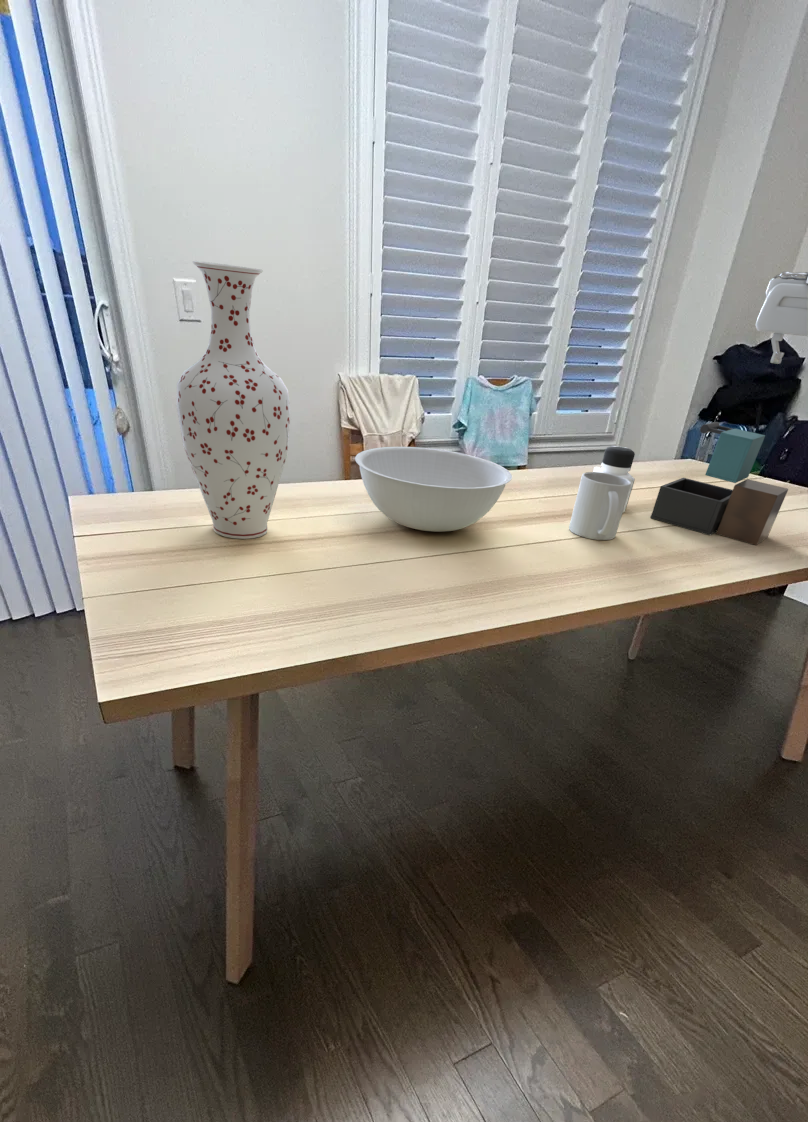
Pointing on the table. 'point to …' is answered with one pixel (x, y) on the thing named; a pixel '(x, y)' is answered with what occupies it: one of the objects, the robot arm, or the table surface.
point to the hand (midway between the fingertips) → (802, 366)
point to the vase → (234, 412)
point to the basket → (691, 505)
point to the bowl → (431, 486)
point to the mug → (599, 505)
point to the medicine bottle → (618, 464)
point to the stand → (751, 511)
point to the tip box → (732, 452)
